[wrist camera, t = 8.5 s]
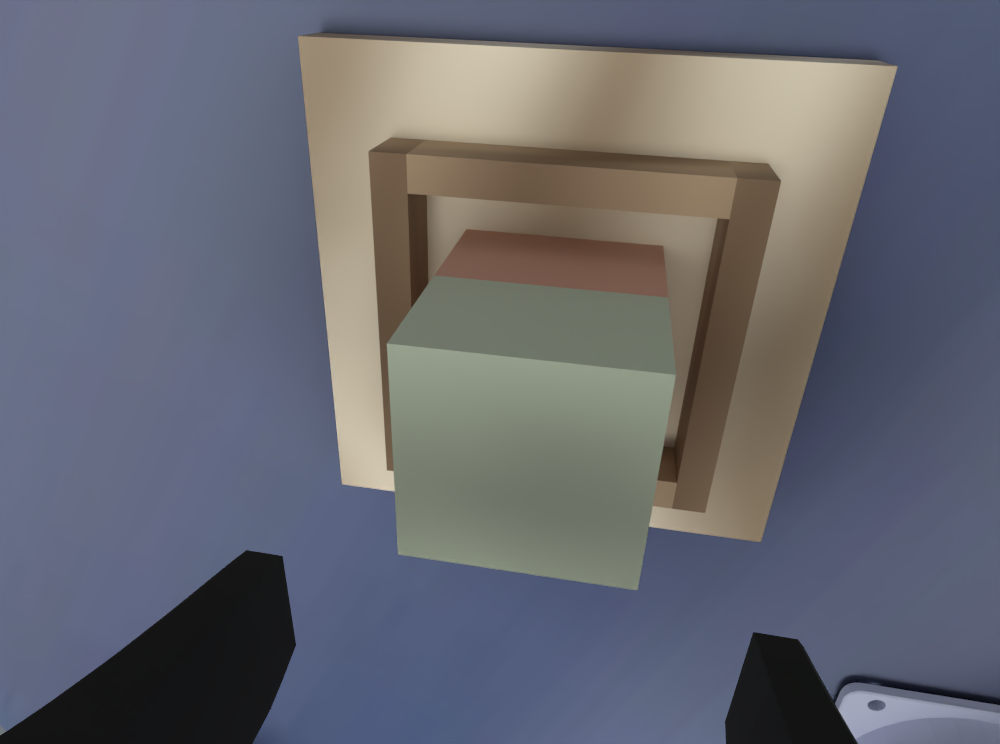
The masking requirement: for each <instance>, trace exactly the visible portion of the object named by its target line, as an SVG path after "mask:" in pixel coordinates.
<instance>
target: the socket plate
mask: <svg viewBox="0 0 1000 744" xmlns="http://www.w3.org/2000/svg"><path fill="white" fill-rule="evenodd" d="M298 41H299V51H300V61H301V71H302V82H303V92H304V102H305V112H306V122H307V132H308V142H309V153H310V163H311V173H312V183H313V193H314V203H315V213H316V224H317V234H318V244H319V254H320V264H321V274H322V284H323V295H324V305H325V315H326V325H327V335H328V345H329V355H330V366H331V376H332V386H333V396H334V406H335V416H336V426H337V437H338V447H339V457H340V467H341V477H342V484H345V485H352V486H359V487H366V488H373V489H381V490H388V491H395V487H394V468H393V449H392V431H391V412H390V393H389V375H388V356H387V343H388V341H389V340H390V338H391V337H392V335H393V334H394V332H395V331H396V330H397V328H398V327H399V325H400V324H401V322H402V321H403V320H404V318H405V317H406V315H407V314H408V312H409V311H410V309H411V308H412V307H413V305H414V304H415V302H416V301H417V299H418V298H419V297H420V295H421V294H422V292H423V291H424V289H425V288H426V287H427V285H428V284H429V282H430V281H431V279H432V278H433V276H434V275H435V274H436V272H437V271H438V269H439V268H440V266H441V265H442V264H443V262H444V261H445V259H446V258H447V256H448V255H449V253H450V252H451V251H452V249H453V248H454V246H455V245H456V243H457V242H458V241H459V239H460V238H461V236H462V235H463V233H464V232H465V231H466V229H471V230H483V231H495V232H507V233H518V234H530V235H542V236H554V237H566V238H577V239H589V240H601V241H613V242H624V243H636V244H648V245H660V246H663V250H664V260H665V270H666V280H667V290H668V299H669V309H670V319H671V329H672V339H673V349H674V359H675V369H676V378H675V384H674V389H673V395H672V401H671V406H670V412H669V417H668V423H667V429H666V434H665V440H664V445H663V451H662V456H661V462H660V468H659V473H658V479H657V484H656V490H655V496H654V501H653V507H652V512H651V518H650V524H649V527H655V528H662V529H669V530H677V531H684V532H691V533H698V534H706V535H713V536H720V537H727V538H734V539H742V540H749V541H756V542H761V540H762V536H763V533H764V529H765V526H766V522H767V519H768V515H769V512H770V508H771V505H772V501H773V498H774V495H775V491H776V488H777V484H778V481H779V477H780V474H781V470H782V467H783V463H784V460H785V456H786V453H787V449H788V446H789V442H790V439H791V435H792V432H793V428H794V425H795V422H796V418H797V415H798V411H799V408H800V404H801V401H802V397H803V394H804V390H805V387H806V383H807V380H808V376H809V373H810V369H811V366H812V362H813V359H814V356H815V352H816V349H817V345H818V342H819V338H820V335H821V331H822V328H823V324H824V321H825V317H826V314H827V310H828V307H829V303H830V300H831V296H832V293H833V289H834V286H835V283H836V279H837V276H838V272H839V269H840V265H841V262H842V258H843V255H844V251H845V248H846V244H847V241H848V237H849V234H850V230H851V227H852V223H853V220H854V216H855V213H856V210H857V206H858V203H859V199H860V196H861V192H862V189H863V185H864V182H865V178H866V175H867V171H868V168H869V164H870V161H871V157H872V154H873V150H874V147H875V143H876V140H877V137H878V133H879V130H880V126H881V123H882V119H883V116H884V112H885V109H886V105H887V102H888V98H889V95H890V91H891V88H892V84H893V81H894V77H895V74H896V70H897V67H898V66H895V65H892V64H889V63H885V62H882V61H879V60H860V59H840V58H820V57H800V56H780V55H759V54H739V53H719V52H699V51H679V50H659V49H638V48H618V47H598V46H578V45H558V44H538V43H518V42H497V41H477V40H457V39H437V38H417V37H397V36H376V35H356V34H336V33H315V34H308V35H302V36H298Z"/></svg>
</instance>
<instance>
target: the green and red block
mask: <svg viewBox="0 0 1000 744" xmlns="http://www.w3.org/2000/svg"><path fill="white" fill-rule="evenodd" d="M387 356H388V375H389V393H390V412H391V431H392V449H393V468H394V487H395V505H396V524H397V543H398V555H405V556H412V557H418V558H425V559H432V560H438V561H445V562H452V563H458V564H465V565H472V566H478V567H485V568H492V569H498V570H505V571H512V572H518V573H525V574H532V575H538V576H545V577H552V578H558V579H565V580H572V581H578V582H585V583H592V584H598V585H605V586H612V587H618V588H625V589H632V590H638V585H639V579H640V574H641V568H642V563H643V557H644V551H645V546H646V540H647V535H648V529H649V524H650V518H651V512H652V507H653V501H654V496H655V490H656V484H657V479H658V473H659V468H660V462H661V456H662V451H663V445H664V440H665V434H666V429H667V423H668V417H669V412H670V406H671V401H672V395H673V389H674V384H675V378H676V369H675V359H674V349H673V339H672V329H671V319H670V309H669V299H668V290H667V280H666V270H665V260H664V250H663V246H660V245H648V244H636V243H624V242H613V241H601V240H589V239H577V238H566V237H554V236H542V235H530V234H518V233H507V232H495V231H483V230H471V229H466V231H465V232H464V233H463V235H462V236H461V238H460V239H459V241H458V242H457V243H456V245H455V246H454V248H453V249H452V251H451V252H450V253H449V255H448V256H447V258H446V259H445V261H444V262H443V264H442V265H441V266H440V268H439V269H438V271H437V272H436V274H435V275H434V276H433V278H432V279H431V281H430V282H429V284H428V285H427V287H426V288H425V289H424V291H423V292H422V294H421V295H420V297H419V298H418V299H417V301H416V302H415V304H414V305H413V307H412V308H411V309H410V311H409V312H408V314H407V315H406V317H405V318H404V320H403V321H402V322H401V324H400V325H399V327H398V328H397V330H396V331H395V332H394V334H393V335H392V337H391V338H390V340H389V341H388V343H387Z"/></svg>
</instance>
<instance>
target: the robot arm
mask: <svg viewBox="0 0 1000 744" xmlns="http://www.w3.org/2000/svg"><path fill="white" fill-rule="evenodd" d="M295 646H296V642H295V636H294V629H293V623H292V616H291V609H290V603H289V596H288V590H287V583H286V577H285V570H284V563H283V557H282V556H278V555H272V554H266V553H260V552H254V551H247V550H246V551H245V552H244V553H242V554H241V555H240V556H238V557H237V558H236V559H235V560H233V561H232V562H231V563H230V564H228V565H227V566H226V567H225V568H223V569H222V570H221V571H220V572H218V573H217V574H216V575H215V576H213V577H212V578H211V579H210V580H209V581H207V582H206V583H205V584H204V585H202V586H201V587H200V588H199V589H197V590H196V591H195V592H194V593H193V594H191V595H190V596H189V597H188V598H186V599H185V600H184V601H183V602H181V603H180V604H179V605H178V606H176V607H175V608H174V609H173V610H172V611H170V612H169V613H168V614H167V615H165V616H164V617H163V618H162V619H160V620H159V621H158V622H156V623H155V624H154V625H153V626H151V627H150V628H149V629H147V630H146V631H145V632H144V633H142V634H141V635H140V636H139V637H137V638H136V639H135V640H133V641H132V642H131V643H130V644H128V645H127V646H126V647H124V648H123V649H122V650H121V651H119V652H118V653H117V654H115V655H114V656H113V657H111V658H110V659H109V660H107V661H106V662H105V663H103V664H102V665H101V666H99V667H98V668H96V669H95V670H94V671H92V672H91V673H90V674H88V675H87V676H85V677H84V678H83V679H81V680H80V681H79V682H77V683H76V684H74V685H73V686H72V687H70V688H69V689H67V690H66V691H65V692H63V693H62V694H61V695H59V696H58V697H56V698H55V699H54V700H52V701H51V702H49V703H48V704H47V705H45V706H44V707H42V708H41V709H39V710H38V711H36V712H35V713H33V714H32V715H30V716H29V717H27V718H26V719H25V720H23V721H22V722H20V723H19V724H17V725H16V726H14V727H13V728H11V729H10V730H8V731H6V732H5V733H3V734H2V735H0V744H252V743H253V741H254V739H255V737H256V736H257V734H258V732H259V730H260V728H261V726H262V724H263V722H264V720H265V718H266V717H267V715H268V713H269V711H270V709H271V706H272V704H273V702H274V699H275V697H276V694H277V692H278V689H279V687H280V685H281V682H282V680H283V677H284V675H285V672H286V669H287V667H288V664H289V662H290V659H291V656H292V654H293V651H294V649H295ZM725 727H726V744H1000V705H996V704H989V703H983V702H977V701H971V700H965V699H958V698H952V697H946V696H940V695H934V694H927V693H921V692H915V691H909V690H903V689H896V688H890V687H884V686H878V685H872V684H865V683H850V684H847V685H846V686H844V687H843V688H842V689H841V691H840V693H839V696H838V698H837V700H836V703H834V701H833V700H832V698H831V696H830V694H829V693H828V691H827V689H826V687H825V685H824V684H823V682H822V680H821V678H820V676H819V675H818V673H817V671H816V669H815V667H814V665H813V664H812V662H811V660H810V658H809V656H808V654H807V653H806V651H805V649H804V647H803V646H802V644H801V643H800V642H799V641H798V639H792V638H786V637H779V636H773V635H767V634H761V633H755V632H753V635H752V638H751V642H750V645H749V648H748V651H747V654H746V657H745V661H744V664H743V667H742V670H741V673H740V677H739V680H738V683H737V686H736V689H735V692H734V696H733V699H732V702H731V705H730V708H729V711H728V715H727V718H726V721H725Z"/></svg>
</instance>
